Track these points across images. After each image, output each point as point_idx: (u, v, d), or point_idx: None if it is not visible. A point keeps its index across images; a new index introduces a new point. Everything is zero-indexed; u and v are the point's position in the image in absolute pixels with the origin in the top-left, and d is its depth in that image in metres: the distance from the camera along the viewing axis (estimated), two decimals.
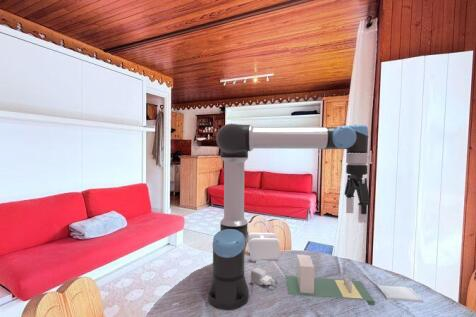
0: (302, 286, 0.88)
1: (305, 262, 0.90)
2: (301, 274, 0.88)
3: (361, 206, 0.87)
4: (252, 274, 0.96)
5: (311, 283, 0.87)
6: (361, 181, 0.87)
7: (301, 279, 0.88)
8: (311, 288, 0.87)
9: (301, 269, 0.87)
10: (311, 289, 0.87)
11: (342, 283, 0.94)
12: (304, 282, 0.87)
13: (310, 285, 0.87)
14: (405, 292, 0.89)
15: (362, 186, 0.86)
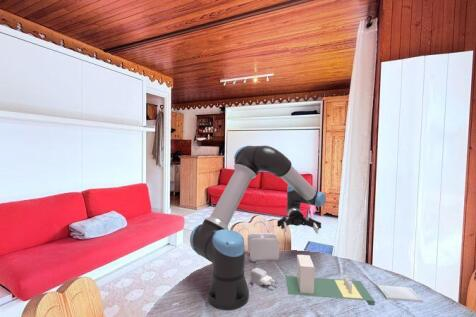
0: (302, 286, 0.88)
1: (305, 262, 0.90)
2: (301, 274, 0.88)
3: (315, 224, 1.09)
4: (252, 274, 0.95)
5: (311, 283, 0.87)
6: None
7: (301, 279, 0.88)
8: (311, 288, 0.87)
9: (301, 269, 0.87)
10: (311, 289, 0.87)
11: (342, 283, 0.94)
12: (304, 282, 0.87)
13: (310, 285, 0.87)
14: (404, 292, 0.89)
15: None
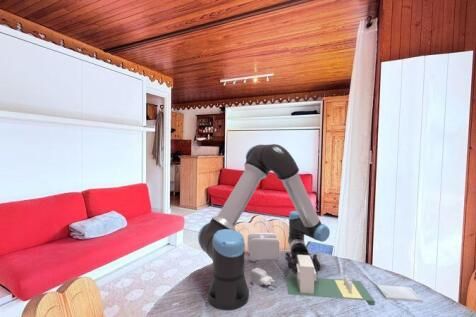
0: (302, 286, 0.88)
1: (305, 262, 0.90)
2: (301, 274, 0.88)
3: None
4: (252, 274, 0.96)
5: (311, 283, 0.87)
6: (316, 256, 1.02)
7: (301, 279, 0.88)
8: (311, 288, 0.87)
9: (301, 269, 0.87)
10: (311, 289, 0.87)
11: (342, 283, 0.94)
12: (304, 282, 0.87)
13: (310, 285, 0.87)
14: (404, 292, 0.89)
15: None
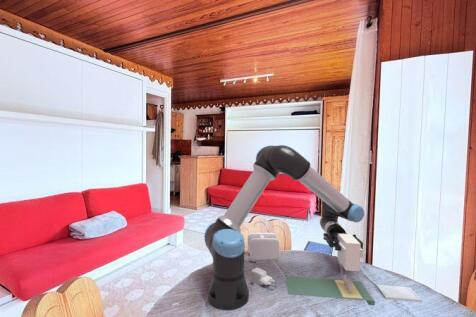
0: (348, 263, 0.85)
1: (350, 240, 0.88)
2: (347, 251, 0.85)
3: None
4: (252, 274, 0.96)
5: (357, 260, 0.85)
6: None
7: (347, 256, 0.85)
8: (357, 265, 0.85)
9: (347, 246, 0.85)
10: (357, 266, 0.85)
11: (342, 283, 0.94)
12: (350, 259, 0.85)
13: (356, 262, 0.85)
14: (404, 292, 0.89)
15: None
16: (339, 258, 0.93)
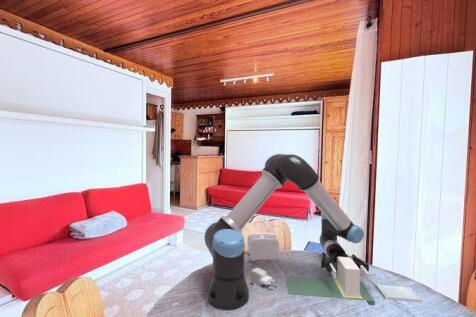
0: (347, 289, 0.86)
1: (349, 264, 0.89)
2: (346, 277, 0.86)
3: None
4: (252, 274, 0.96)
5: (356, 286, 0.85)
6: None
7: (346, 282, 0.86)
8: (357, 291, 0.85)
9: (346, 272, 0.86)
10: (356, 292, 0.85)
11: None
12: (349, 285, 0.86)
13: (355, 288, 0.85)
14: (404, 292, 0.89)
15: None
16: (338, 282, 0.93)
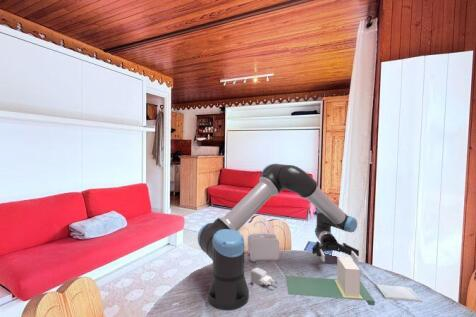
0: (347, 289, 0.86)
1: (349, 264, 0.89)
2: (346, 277, 0.86)
3: (353, 253, 1.04)
4: (252, 274, 0.96)
5: (356, 286, 0.85)
6: None
7: (346, 282, 0.86)
8: (357, 291, 0.85)
9: (346, 272, 0.86)
10: (356, 292, 0.85)
11: None
12: (349, 285, 0.86)
13: (355, 288, 0.85)
14: (403, 292, 0.89)
15: None
16: (338, 282, 0.93)
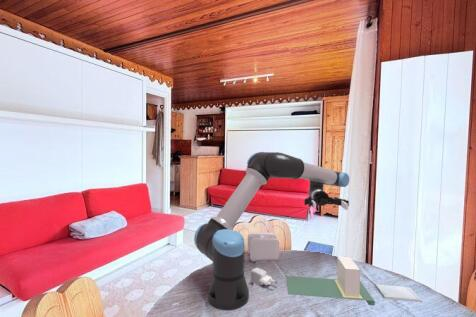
0: (347, 289, 0.86)
1: (349, 264, 0.89)
2: (346, 277, 0.86)
3: None
4: (252, 274, 0.96)
5: (356, 286, 0.85)
6: None
7: (346, 282, 0.86)
8: (357, 291, 0.85)
9: (346, 272, 0.86)
10: (356, 292, 0.85)
11: None
12: (349, 285, 0.86)
13: (355, 288, 0.85)
14: (403, 292, 0.89)
15: None
16: (338, 282, 0.93)
